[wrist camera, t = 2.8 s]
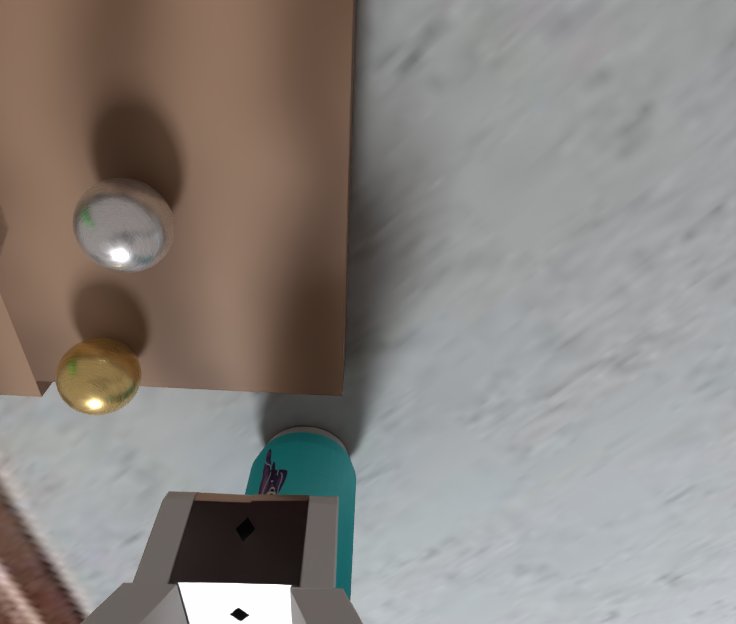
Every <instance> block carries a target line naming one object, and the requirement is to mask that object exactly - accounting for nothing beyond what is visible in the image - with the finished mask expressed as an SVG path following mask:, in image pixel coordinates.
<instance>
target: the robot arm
mask: <svg viewBox="0 0 736 624" xmlns="http://www.w3.org/2000/svg"><path fill="white" fill-rule="evenodd" d="M338 506H339V500H338V496H310V495H267V494H254V495H239V494H218V493H199V492H172V491H169V492H168V493H167V495H166V496H165V498H164V499H163V501H162V503H161V506H160V509H159V512H158V514H157V517H156V520H155V523H154V526H153V528H152V531H151V534H150V537H149V539H148V542H147V545H146V548H145V550H144V553H143V556H142V559H141V561H140V564H139V567H138V570H137V572H136V575H135V578H134V581H133V583H123V584H122V585H121V586H120V587H119V588H118V589H117V590H116V591H114V592H113V593H112V594H111V595H110V596H109V597H108V598H107V599H106V600H105V601H104V602H103V603H102V604H101V605H100V606H99V607H98V608H96V609H95V610H94V611H93V612H92V613H91V614H90V615H89V616H88V617H87V618H86V619H85V620H84V621H83V622H82V623H81V624H363V623H362V621H361V619H360V618H359V616H358V614H357V612H356V610H355V609H354V607H353V605H352V603H351V602H350V600H349V598H348V596H347V595H346V593H345V591H344V589H343V588H335V586H336V565H337V536H338Z"/></svg>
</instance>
